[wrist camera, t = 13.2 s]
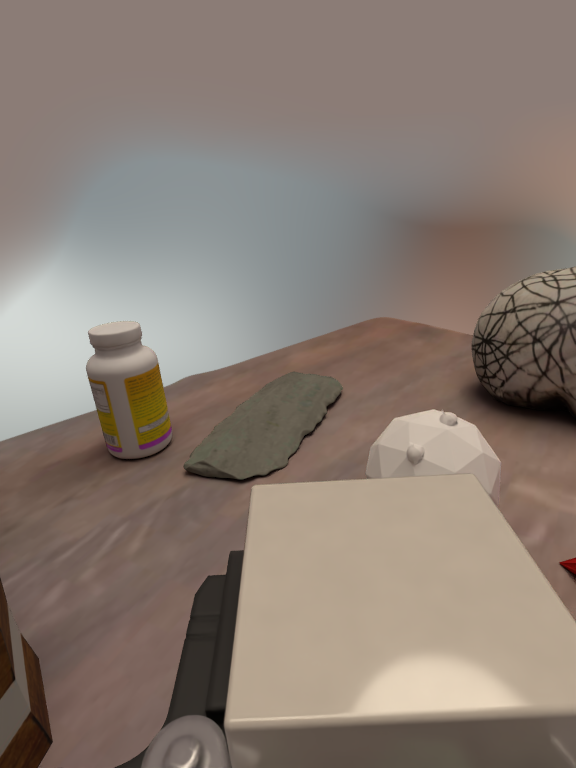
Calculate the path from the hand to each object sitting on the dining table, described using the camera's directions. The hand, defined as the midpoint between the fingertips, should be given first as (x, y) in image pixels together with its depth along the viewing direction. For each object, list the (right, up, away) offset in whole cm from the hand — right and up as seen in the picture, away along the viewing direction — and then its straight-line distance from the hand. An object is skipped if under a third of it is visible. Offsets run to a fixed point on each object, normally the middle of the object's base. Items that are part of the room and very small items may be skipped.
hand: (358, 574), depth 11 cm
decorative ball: (+10, -6, +22) cm, 25 cm away
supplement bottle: (-17, -2, +36) cm, 40 cm away
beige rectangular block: (0, -7, 0) cm, 7 cm away
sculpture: (+28, +2, +39) cm, 48 cm away
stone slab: (-3, 0, +38) cm, 39 cm away
